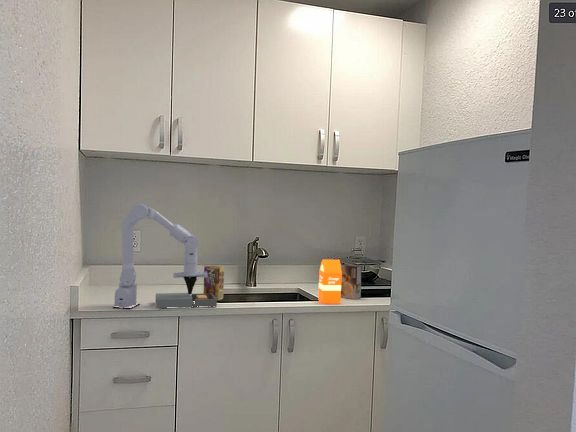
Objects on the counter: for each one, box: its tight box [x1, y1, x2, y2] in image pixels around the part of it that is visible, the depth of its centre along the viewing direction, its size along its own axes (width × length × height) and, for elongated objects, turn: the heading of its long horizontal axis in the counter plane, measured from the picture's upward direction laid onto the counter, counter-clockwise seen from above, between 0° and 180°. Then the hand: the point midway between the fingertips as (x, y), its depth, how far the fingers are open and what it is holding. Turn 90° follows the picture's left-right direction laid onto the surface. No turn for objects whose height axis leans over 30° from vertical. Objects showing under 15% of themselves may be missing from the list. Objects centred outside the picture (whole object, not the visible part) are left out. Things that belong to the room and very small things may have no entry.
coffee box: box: [340, 263, 363, 300], centre depth 253 cm, size 9×6×16 cm
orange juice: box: [317, 259, 342, 304], centre depth 241 cm, size 8×9×20 cm
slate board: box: [155, 292, 193, 309], centre depth 222 cm, size 14×13×4 cm
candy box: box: [203, 264, 225, 301], centre depth 238 cm, size 9×4×15 cm, turn 62°
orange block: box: [196, 295, 208, 299], centre depth 226 cm, size 4×6×3 cm, turn 18°
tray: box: [190, 292, 218, 308], centre depth 225 cm, size 10×13×4 cm
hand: (189, 293), depth 224 cm, fingers closed
